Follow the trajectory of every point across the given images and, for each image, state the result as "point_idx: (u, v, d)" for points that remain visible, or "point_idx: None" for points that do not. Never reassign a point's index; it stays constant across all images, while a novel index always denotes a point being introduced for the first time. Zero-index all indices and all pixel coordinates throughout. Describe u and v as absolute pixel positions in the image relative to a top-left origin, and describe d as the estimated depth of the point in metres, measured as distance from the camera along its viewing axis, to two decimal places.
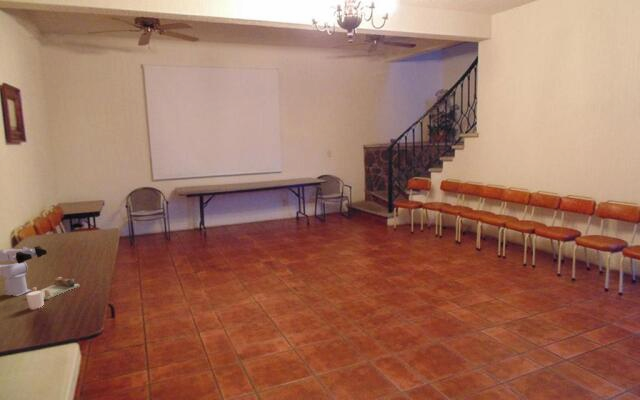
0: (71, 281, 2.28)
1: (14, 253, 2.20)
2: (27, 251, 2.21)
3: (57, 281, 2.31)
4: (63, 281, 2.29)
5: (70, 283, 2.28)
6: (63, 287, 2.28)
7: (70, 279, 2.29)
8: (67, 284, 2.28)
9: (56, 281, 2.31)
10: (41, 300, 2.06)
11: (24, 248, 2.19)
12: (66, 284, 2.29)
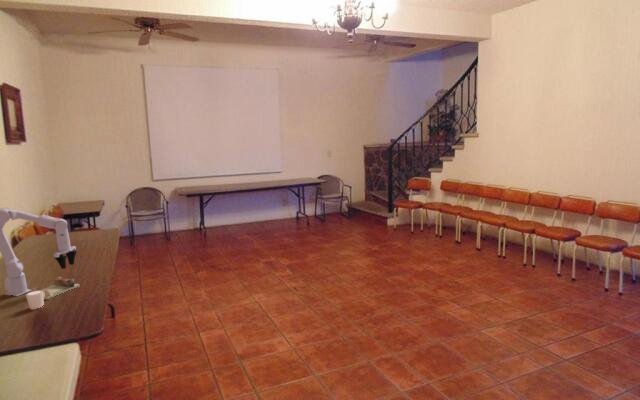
0: (71, 281, 2.28)
1: (63, 243, 2.32)
2: None
3: (57, 281, 2.31)
4: (63, 281, 2.29)
5: (70, 283, 2.28)
6: (63, 287, 2.28)
7: (70, 279, 2.29)
8: (67, 284, 2.28)
9: (56, 281, 2.31)
10: (41, 300, 2.06)
11: (70, 251, 2.34)
12: (66, 284, 2.29)
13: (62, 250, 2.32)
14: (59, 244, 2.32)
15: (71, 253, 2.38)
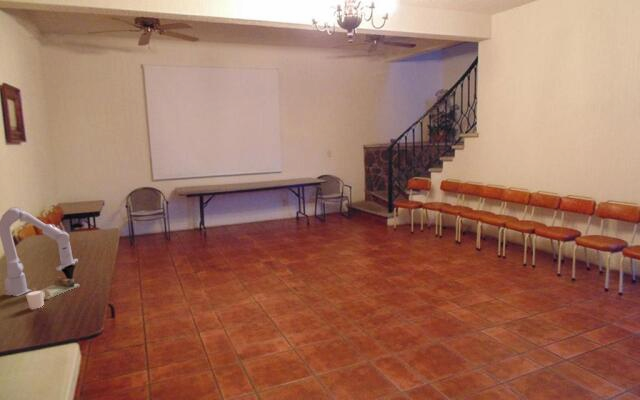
0: (71, 281, 2.28)
1: (65, 256, 2.33)
2: None
3: (57, 281, 2.31)
4: (63, 281, 2.29)
5: (70, 283, 2.28)
6: (63, 287, 2.28)
7: (70, 279, 2.29)
8: (67, 284, 2.28)
9: (56, 281, 2.31)
10: (41, 300, 2.06)
11: None
12: (66, 284, 2.29)
13: (64, 263, 2.33)
14: (61, 257, 2.33)
15: None
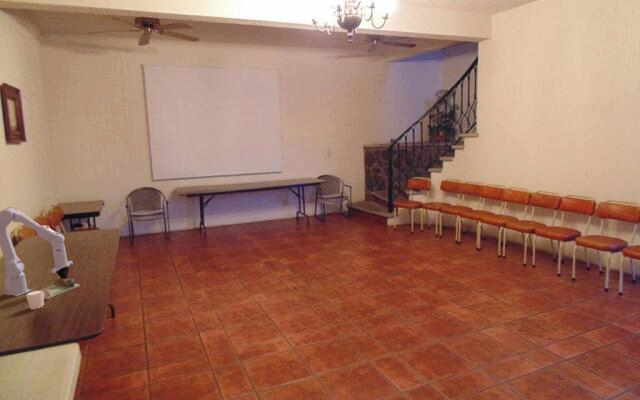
0: (71, 281, 2.28)
1: (59, 258, 2.30)
2: None
3: (57, 281, 2.31)
4: (63, 281, 2.29)
5: (70, 283, 2.28)
6: (63, 287, 2.28)
7: (70, 279, 2.29)
8: (67, 284, 2.28)
9: (56, 281, 2.31)
10: (41, 300, 2.06)
11: None
12: (66, 284, 2.29)
13: (59, 265, 2.30)
14: (56, 259, 2.30)
15: None
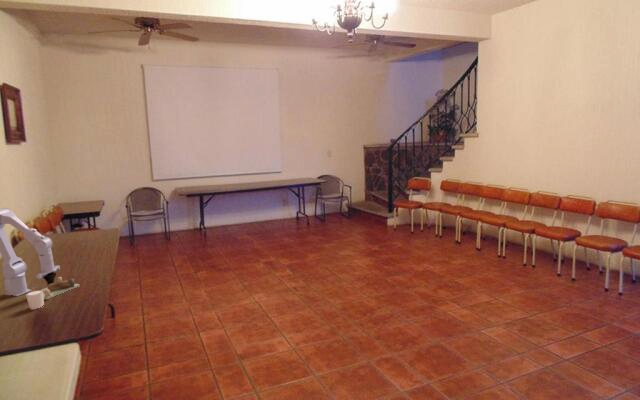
0: (73, 280, 2.29)
1: (46, 263, 2.22)
2: None
3: (52, 286, 2.24)
4: (62, 283, 2.26)
5: (73, 282, 2.29)
6: None
7: (69, 279, 2.29)
8: (68, 285, 2.27)
9: (50, 286, 2.23)
10: (41, 300, 2.06)
11: None
12: (67, 285, 2.27)
13: (45, 270, 2.22)
14: (42, 264, 2.22)
15: None
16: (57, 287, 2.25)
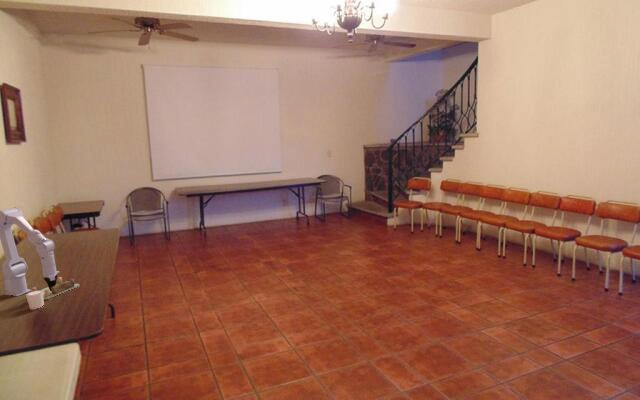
0: None
1: (52, 265, 2.19)
2: None
3: (58, 287, 2.21)
4: (66, 284, 2.25)
5: None
6: None
7: (69, 280, 2.28)
8: (71, 284, 2.28)
9: (57, 288, 2.20)
10: (41, 300, 2.06)
11: None
12: (70, 285, 2.27)
13: (52, 273, 2.19)
14: (48, 267, 2.18)
15: None
16: (62, 288, 2.23)
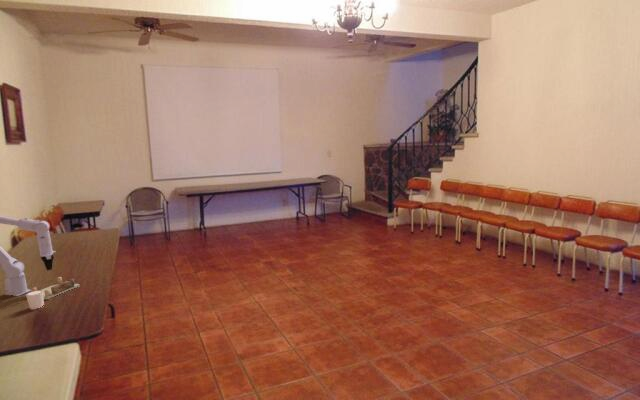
0: None
1: (49, 244, 2.28)
2: None
3: (58, 287, 2.21)
4: (66, 284, 2.25)
5: None
6: None
7: (69, 280, 2.28)
8: (71, 284, 2.28)
9: (57, 288, 2.20)
10: (41, 300, 2.06)
11: None
12: (70, 285, 2.27)
13: (48, 252, 2.28)
14: (44, 246, 2.26)
15: None
16: (62, 288, 2.23)
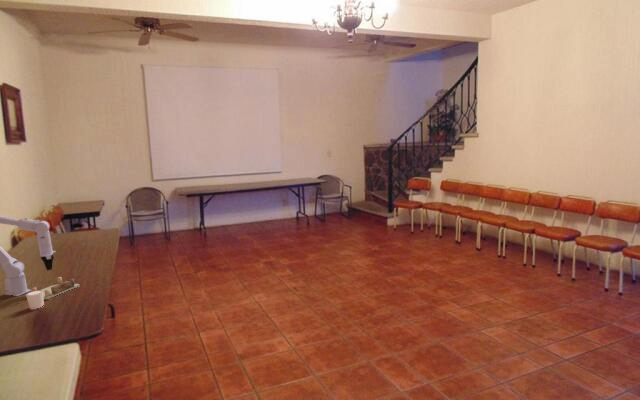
0: None
1: (49, 244, 2.28)
2: None
3: (58, 287, 2.21)
4: (66, 284, 2.25)
5: None
6: None
7: (69, 280, 2.28)
8: (71, 284, 2.28)
9: (57, 288, 2.20)
10: (41, 300, 2.06)
11: None
12: (70, 285, 2.27)
13: (48, 252, 2.28)
14: (44, 246, 2.26)
15: None
16: (62, 288, 2.23)
